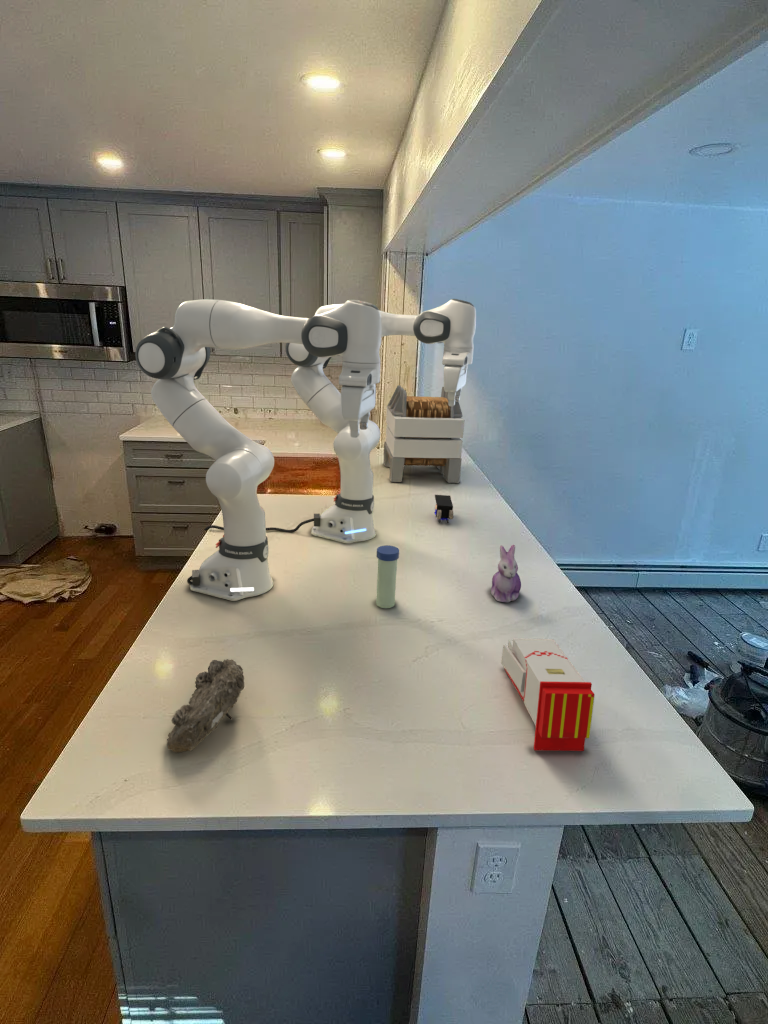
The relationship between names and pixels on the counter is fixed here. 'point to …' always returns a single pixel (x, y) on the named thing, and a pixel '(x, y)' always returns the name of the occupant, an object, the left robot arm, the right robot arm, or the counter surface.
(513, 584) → the figurine
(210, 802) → the counter surface
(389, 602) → the jar
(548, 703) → the toy
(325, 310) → the right robot arm
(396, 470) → the transformer
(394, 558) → the lid
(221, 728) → the counter surface
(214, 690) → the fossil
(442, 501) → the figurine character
